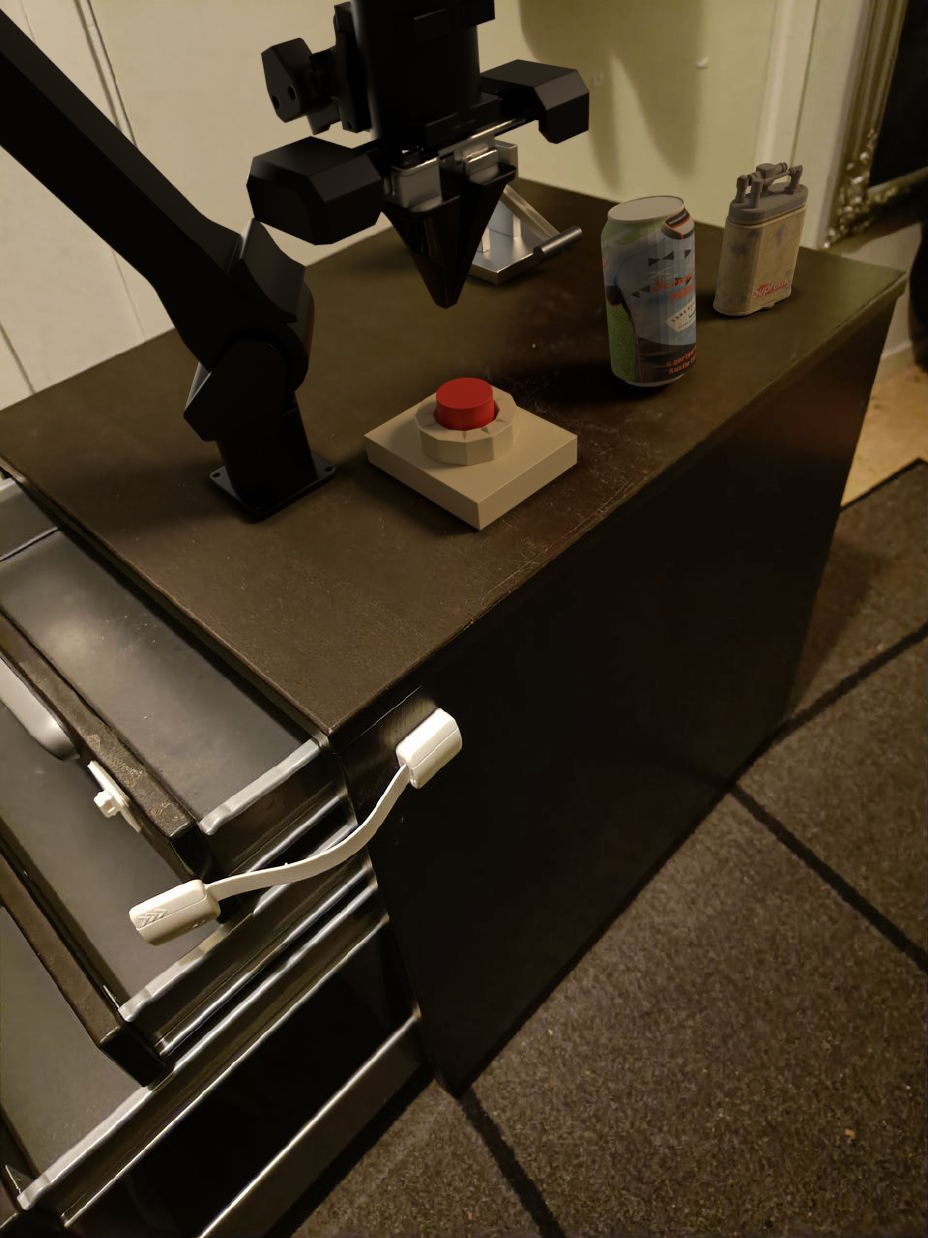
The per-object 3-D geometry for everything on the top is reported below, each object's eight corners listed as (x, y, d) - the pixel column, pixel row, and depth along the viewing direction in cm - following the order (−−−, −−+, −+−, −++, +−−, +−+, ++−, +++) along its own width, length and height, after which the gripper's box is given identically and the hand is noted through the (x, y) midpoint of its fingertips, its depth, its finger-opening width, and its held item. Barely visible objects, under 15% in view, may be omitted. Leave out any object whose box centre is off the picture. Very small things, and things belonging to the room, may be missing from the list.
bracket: (565, 249, 77) (566, 145, 71) (497, 285, 74) (491, 179, 67) (476, 219, 84) (469, 121, 77) (409, 251, 80) (396, 151, 74)
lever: (577, 249, 74) (586, 226, 72) (539, 269, 72) (547, 247, 69) (487, 164, 76) (493, 139, 74) (447, 181, 74) (452, 157, 72)
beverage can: (669, 407, 59) (687, 233, 50) (579, 379, 62) (582, 213, 53) (709, 365, 62) (733, 195, 53) (622, 342, 65) (631, 178, 56)
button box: (577, 463, 55) (577, 411, 52) (479, 531, 51) (475, 479, 48) (463, 404, 61) (458, 355, 58) (368, 461, 57) (358, 411, 54)
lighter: (767, 279, 70) (791, 149, 63) (802, 295, 68) (831, 162, 60) (703, 306, 68) (720, 175, 61) (737, 323, 66) (759, 189, 58)
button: (506, 414, 53) (504, 390, 52) (465, 439, 52) (463, 415, 51) (467, 394, 55) (465, 371, 54) (427, 418, 54) (424, 395, 52)
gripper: (443, -77, 45) (467, 218, 57) (139, 3, 38) (237, 326, 49) (600, -67, 39) (592, 260, 51) (276, 30, 32) (352, 391, 43)
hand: (445, 304), depth 49 cm, fingers closed
